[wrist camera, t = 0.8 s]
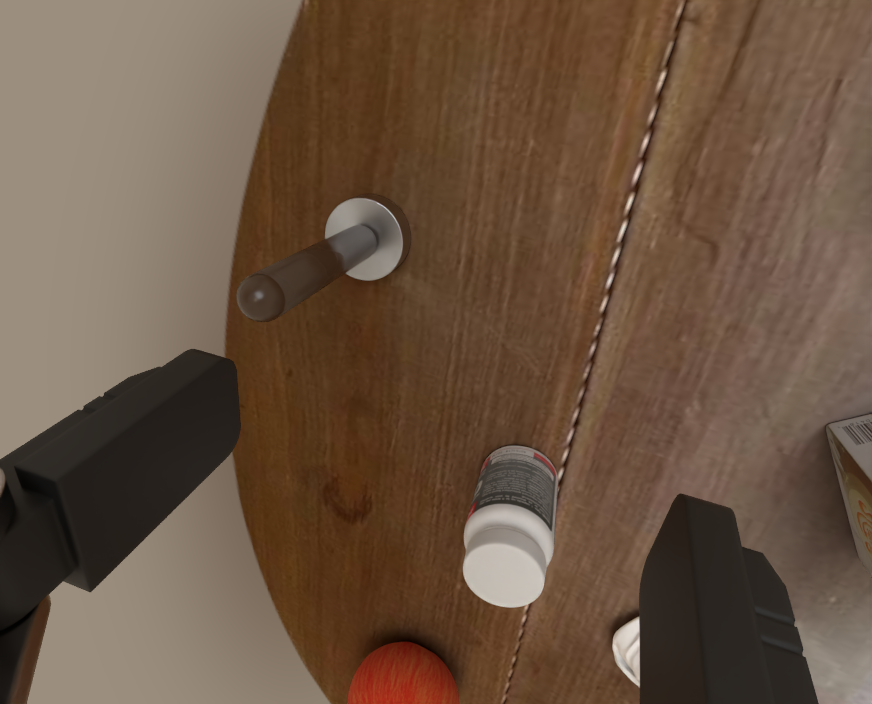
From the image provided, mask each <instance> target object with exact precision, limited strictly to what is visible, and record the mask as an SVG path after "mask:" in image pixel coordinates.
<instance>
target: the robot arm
mask: <svg viewBox="0 0 872 704" xmlns="http://www.w3.org/2000/svg"><path fill="white" fill-rule="evenodd" d="M240 428H241V422H240V409H239V395H238V382H237V370H236V366H235V364H234V362H233V361H232V360H230V359H227V358H224V357H221V356H217V355H214V354H210V353H207V352H204V351H200V350H196V349H190V350H187V351H185V352H184V353H182V354H181V355H179V356H178V357H176V358H175V359H173V360H172V361H170V362H169V363H167V364H166V365H164V366H163V367H157V368H154V369H151V370H148V371H145V372H142V373H140V374H137V375H134V376H131V377H128V378H127V379H125V380H124V381H122V382H121V383H119V384H118V385H116V386H115V387H113V388H111V389H110V390H108V391H107V392H105V393H104V396H103V397H100V396H99V397H97V398H96V399H94V400H93V401H91V402H89V403H88V404H86V405H85V406H84V408H83V410H77V411H75V412H74V413H72V414H71V415H69V416H68V417H66V418H64V419H63V420H61V421H60V422H58V423H57V424H55V425H53V426H52V427H50V428H49V429H47V430H46V431H44V432H43V433H41V434H39V435H38V436H37V437H35V438H33V439H32V440H30V441H28V442H27V443H25V444H24V445H22V446H21V447H19V448H17V449H16V450H14V451H13V452H11V453H10V454H8V455H7V456H5V457H3V458H2V459H0V704H27V700H28V696H29V692H30V688H31V684H32V680H33V676H34V672H35V668H36V664H37V660H38V656H39V652H40V648H41V644H42V640H43V636H44V632H45V628H46V624H47V620H48V616H49V612H50V606H51V601H50V596H49V594H50V593H51V592H52V591H53V590H54V589H55V588H56V587H57V586H58V585H59V584H60V583H62V581H65V582H67V583H69V584H72V585H74V586H76V587H79V588H81V589H84V590H86V591H88V592H91V591H92V590H93V589H94V588H96V586H97V585H99V583H100V582H102V581H103V579H105V578H106V577H107V576H108V575H109V574H110V573H111V572H112V571H113V570H114V569H115V568H116V567H117V566H118V565H119V564H120V563H121V562H122V561H123V560H124V559H125V558H126V557H127V556H128V555H129V554H130V553H131V552H132V551H133V550H134V549H135V548H136V547H137V546H138V545H139V544H140V543H141V542H142V541H143V540H144V539H145V538H146V537H147V536H148V535H149V534H150V533H151V532H152V531H153V530H154V529H155V528H156V527H157V526H158V525H159V524H160V523H161V522H162V521H163V520H164V519H165V518H166V517H167V516H168V515H169V514H170V513H171V512H172V511H173V510H174V509H175V508H176V507H177V506H178V505H179V504H180V503H181V502H182V501H183V500H185V498H187V497H188V496H189V495H190V493H192V491H194V490H195V489H196V488H197V486H198V485H199V484H201V483H202V481H204V480H205V479H206V478H207V477H208V476H209V475H210V474H211V473H212V472H213V471H214V470H215V469H216V468H217V467H218V466H219V465H220V464H221V463H222V462H223V461H224V460H225V459H226V458H227V457H228V456H229V455H230V453H231V452H232V450H233V449H234V447H235V445H236V443H237V440H238V438H239V434H240ZM794 622H795V618H794V614H793V611H792V607H791V604H790V600H789V596H788V593H787V589H786V586H785V585H784V583H783V582H782V580H781V579H780V577H779V576H778V575H777V573H776V572H775V570H774V569H773V567H772V566H771V565H770V563H769V562H768V560H767V559H766V557H765V556H764V554H763V553H760V552H757V551H754V550H751V549H747V548H744V547H742V546H741V541H740V536H739V532H738V527H737V522H736V518H735V514H734V512H733V510H732V509H731V508H729V507H725V506H722V505H718V504H715V503H712V502H708V501H705V500H701V499H698V498H695V497H691V496H688V495H684V494H679V495H677V497H676V498H675V499H674V501H673V503H672V505H671V507H670V510H669V512H668V514H667V516H666V518H665V520H664V522H663V525H662V527H661V529H660V531H659V533H658V535H657V537H656V540H655V542H654V544H653V546H652V548H651V550H650V552H649V555H648V557H647V559H646V562H645V565H644V569H643V573H642V578H641V583H640V593H639V630H640V704H818V700H817V696H816V693H815V689H814V686H813V682H812V679H811V675H810V671H809V668H808V664H807V661H806V657H803V656H802V652H803V646H802V643H801V639H800V636H799V632H798V629H797V627H794Z"/></svg>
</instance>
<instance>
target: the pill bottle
mask: <svg viewBox="0 0 872 704" xmlns="http://www.w3.org/2000/svg"><path fill="white" fill-rule="evenodd" d="M557 493H558V476H557V472H556V470H555V468H554V466H553V464H552V463H551V462H550V460H549V459H548V458H547V457H546V456H544V455H543V454H542V453H540V452H539V451H537V450H534V449H532V448H529V447H524V446H506V447H502V448H499V449H497V450H496V451H494V452H493V453H491V454H490V455H489V456H488V457H487V459H486V460H485V462H484V464H483V466H482V469H481V472H480V476H479V480H478V483H477V487H476V490H475V494H474V497H473V500H472V504H471V508H470V511H469V515H468V518H467V522H466V525H465V530H464V544H465V548H466V554H465V558H464V563H463V575H464V578H465V581H466V583H467V584H468V586H469V588H470V589H471V590H472V591H473V592H474V593H475V594H476V595H478V596H479V597H480V598H481V599H483V600H485V601H487V602H489V603H491V604H494V605H497V606H501V607H511V608H512V607H521V606H524V605H527V604H529V603H531V602H533V601H534V600H535V599H537V598H538V597H539V595H540V594H541V592H542V590H543V587H544V582H545V574H546V569H547V566H548V564H549V563H550V561H551V558H552V555H553V550H554V540H555V523H556V507H557Z"/></svg>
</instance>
